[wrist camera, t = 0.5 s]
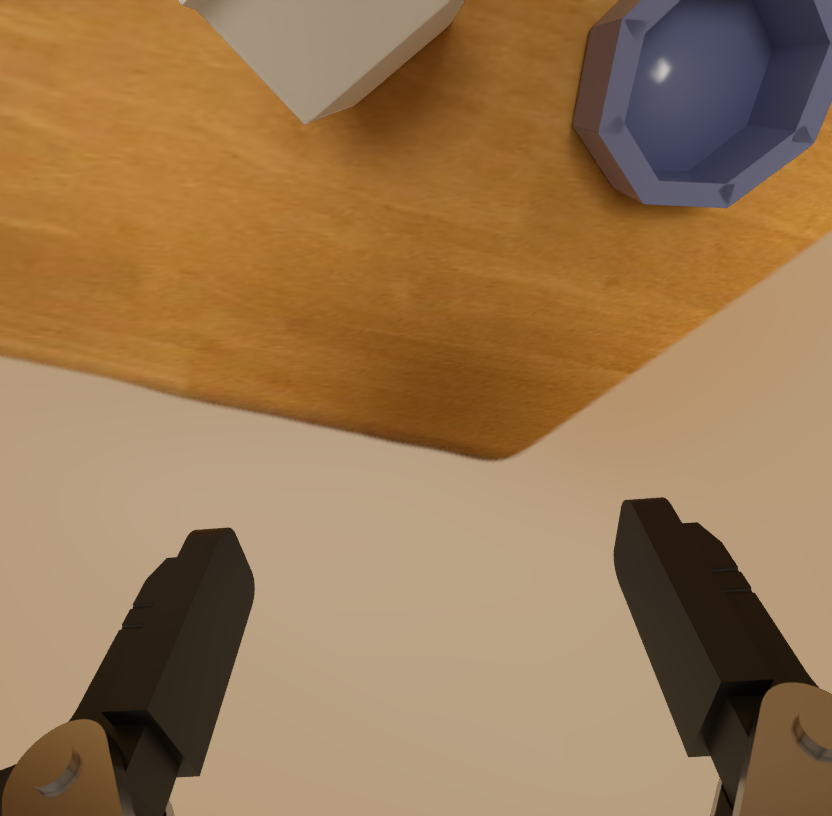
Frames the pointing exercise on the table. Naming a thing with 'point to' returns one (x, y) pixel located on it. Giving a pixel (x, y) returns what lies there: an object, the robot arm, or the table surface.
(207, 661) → the robot arm
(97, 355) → the table surface
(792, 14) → the bowl
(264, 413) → the table surface
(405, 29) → the milk carton
